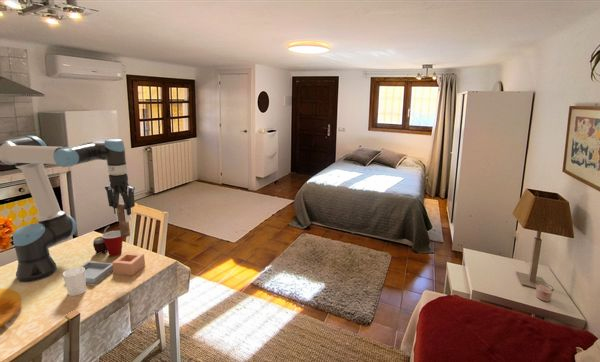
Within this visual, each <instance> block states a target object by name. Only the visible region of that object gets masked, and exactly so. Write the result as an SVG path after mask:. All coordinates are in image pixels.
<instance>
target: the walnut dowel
mask: <svg viewBox="0 0 600 362" xmlns="http://www.w3.org/2000/svg"><path fill="white" fill-rule="evenodd" d="M125 208H126V207H125V204H124V202H119V204H117V209H118V217H119V221H118V224H119V231H120V233H121V237H123V238H127V237H130V236H131V230H130V221H129V222H126V220H125V212H124V209H125Z"/></svg>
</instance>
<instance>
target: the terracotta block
mask: <svg viewBox="0 0 600 362" xmlns="http://www.w3.org/2000/svg"><path fill="white" fill-rule="evenodd" d="M111 263H112V264H113V271H112V272H113V274H116V275H124V276H125V275H127V276H128V275H130V276H134V275H135V274H136V273H138V272H139V271H140V270H141V269H142V268H143V267H144V266H146V261H145V254H144V253H135V252H124V253H123V254H120V255H119V257H118V258H116V259H115V260H113V261H112V262H111Z"/></svg>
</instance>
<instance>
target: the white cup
mask: <svg viewBox="0 0 600 362" xmlns="http://www.w3.org/2000/svg"><path fill="white" fill-rule="evenodd" d="M62 277H63V281H64V285H65V289H66V290H67V295H68V296H70V297H75V296H80V295H82V294H83V293H85V292H86V291H87V284H86V275H85V268H84V267H80V266H74V267H71V268H67V269H66V270H65V271H63V273H62Z"/></svg>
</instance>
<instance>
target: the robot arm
mask: <svg viewBox="0 0 600 362" xmlns="http://www.w3.org/2000/svg"><path fill="white" fill-rule="evenodd" d="M96 160H99V161H102V160H103V161H106V164H107V171H108V172H107V173H108V178H109V180H108V181H109V183H110V184H109V185H106V186H104V189H105V191H106V195H107V200H108V201H107V202H108V206H109V207H110V208H111V207H112V208H113V212H114V214H115V221H116V222H118V223H119V217H118V209H117V204H119V203H120V196H121V197H122V201H123V203H124V204H125V207H126V208H125V209H124V212H125V220H126V222H129V223H130V221H131V215H132V208H134V207H135V206H136V204H135V194H134V193H135V187H134V186H130V185H129V183H128V182H129V177H128V175H129V174H128V173H127V172H128V167H127V161H126V160H127V159H126V148H125V144H124V141H123V140H122V139H120V138H118V139H117V138H116V139H115V138H110V139H106V140H104V142H103V143H101V142H93V141H91V142H84V143H82V144H80V145H75V146H50V145H49V146H47V144H46V143H45V141H44V140H42V139H41V138H39V137H38V136H36V135H22V136H14V137H6V138H0V165H2V166H3V165H5V166H6V165H8V166H12V165H14V166H15V168H17V169H18V170H20V171H21V172H22V175H23V177H24V179H25V180H24V181H25V182H26V184H27V187H28V190H29V192H30V195H31V197H32V199H33V202H34V205H35V208H36V210H37V212H38V216H39V218H38V220H37V223H30V224H27V225H24V226H21V227H19V228H17V229H16V230H15V231H14V232H13V235H12V244H13V245H14V249H15V254H16V258H17V268H16V272H15V278H16V280H17V281H18V282H21V283H31V282H35V281H40V280H43V279H46V278H48V277H49V276H50V277H51V276H52V275H53V274H55V272H57V270H58V267H57V263H56V262H55V260H54V259H53V258H52V256H51V254H50V249H49V248H51V247H53V246H54V245H55V246H56V245H57V244H59V243H61V242H63V241H66V240H68V239H69V238H71V237H72V236H73V235H74V234H75V233H76V231H77V223H76V220H75V219H74V218H73V217H72V216H71V215H69V214H67V213H66V212H65V211H63V210H61V208H60V205H59V202H58V199H57V196H56V195H55V192H54V189H53V187H52V184H51V181H50V178H49V176H48V173H47V171H46V168H45V165H58V166H60V167H62V168H68V167H73V166H76V165H81V164H85V163H89V162H93V161H96Z"/></svg>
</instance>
